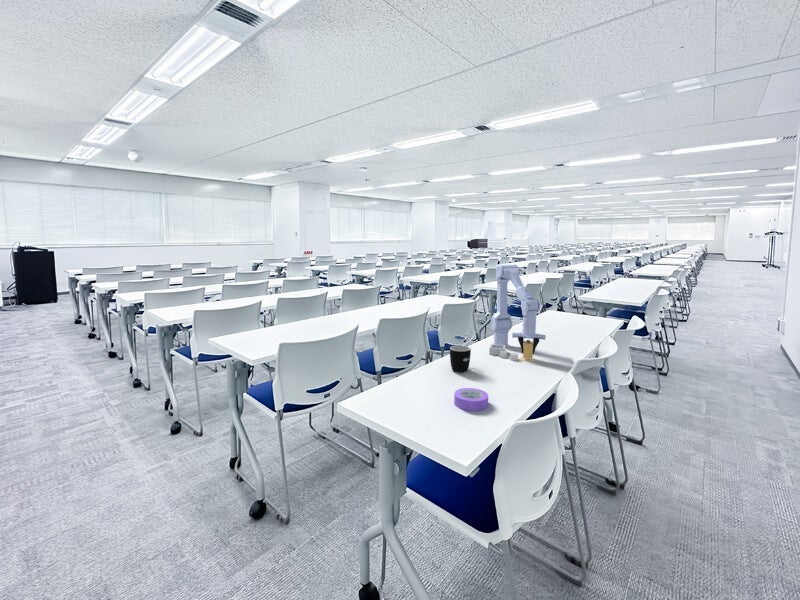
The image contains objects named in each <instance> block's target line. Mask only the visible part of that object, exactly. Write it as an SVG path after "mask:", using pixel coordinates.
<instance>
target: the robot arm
mask: <svg viewBox="0 0 800 600" xmlns="http://www.w3.org/2000/svg"><path fill="white" fill-rule="evenodd" d="M495 281H496V285H497V286H496V292H497V293H496V294H497V295H496V312H495V313H494V314H493V315H492V316H491V321H490V328H491V329H492V331H493V343H492V344H496V345H505V348H508V347H509V346H510V345H509V332H510V330H512V328H513V321H512V315H510V314H509V313H508V284H509V282H511V283H512V284H513V286H514V288H515V289H516V295H517V297H518V299H519V301H520V308H521V314H522V331H521V332H512V334H511V337H512V338H514V339H515V338H517V341H518V343H519V345H520V349H521V354H522V355H523V346H524V341H525V340H524V339H530V340H533V341H532V342H533V355H534V354H535V351H536V349H537V346H538V344H539V343H540V340H544V341H545V340H547V339H546V338H547V337H546V334H541V333H536V331H537V330H536V327H537V313H538V311H539V309H540V308H541V306H540V305H541V304H540V302H539V299H538V298H536V297H535V296H533V295H532V292H531V291H530V290H529V288H528V287H527V286H524V284H523V281H522V278H521V276H520V269H519V266H518V265H517V264H499V265H497V267H496V268H495Z"/></svg>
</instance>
